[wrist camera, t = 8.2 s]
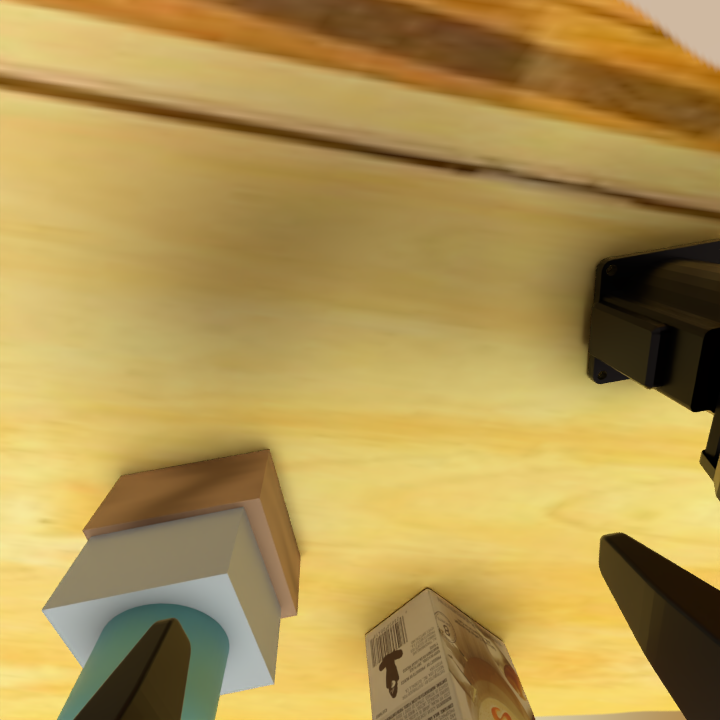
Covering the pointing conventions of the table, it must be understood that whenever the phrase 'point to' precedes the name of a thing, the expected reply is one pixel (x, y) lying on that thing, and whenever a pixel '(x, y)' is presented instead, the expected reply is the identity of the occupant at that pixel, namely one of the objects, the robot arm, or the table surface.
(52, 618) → the tower top
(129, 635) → the teal cylinder
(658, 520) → the table surface
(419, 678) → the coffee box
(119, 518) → the tower base
